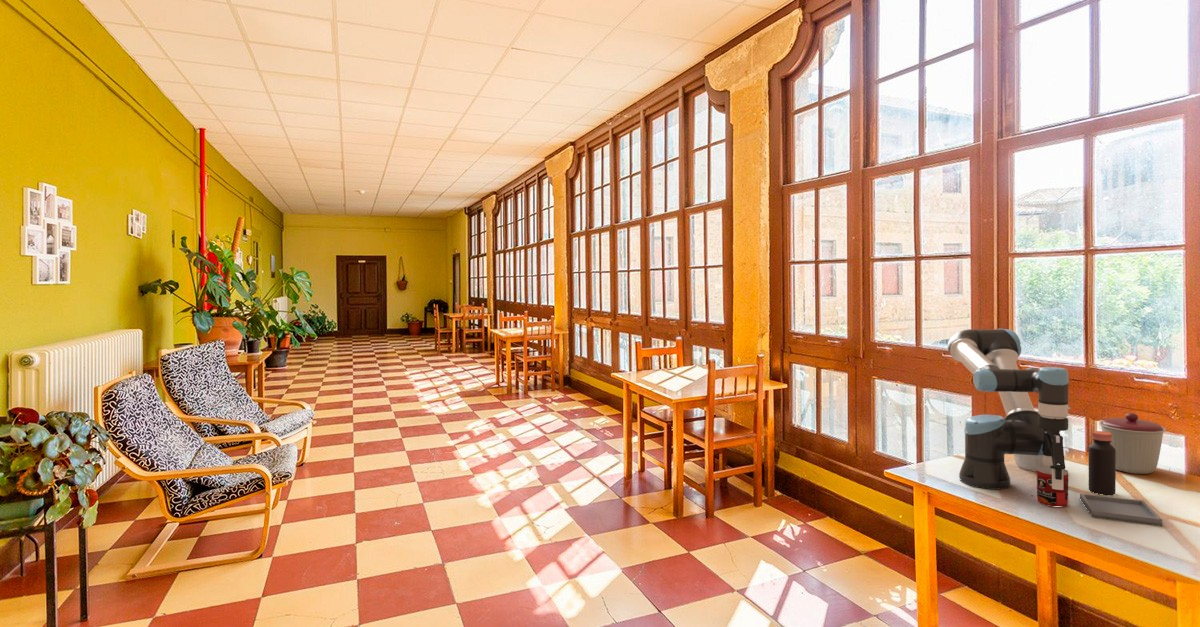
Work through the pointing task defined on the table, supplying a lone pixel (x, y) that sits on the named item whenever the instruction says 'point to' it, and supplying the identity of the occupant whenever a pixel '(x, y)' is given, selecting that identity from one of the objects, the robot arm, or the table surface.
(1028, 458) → the ramekin
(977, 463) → the robot arm
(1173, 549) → the table surface
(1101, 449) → the bottle
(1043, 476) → the canned food
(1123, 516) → the tray
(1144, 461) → the canister
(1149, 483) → the table surface
